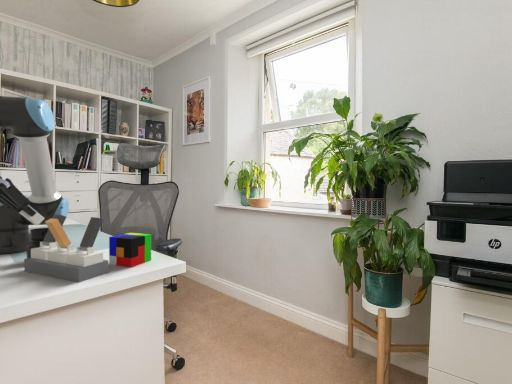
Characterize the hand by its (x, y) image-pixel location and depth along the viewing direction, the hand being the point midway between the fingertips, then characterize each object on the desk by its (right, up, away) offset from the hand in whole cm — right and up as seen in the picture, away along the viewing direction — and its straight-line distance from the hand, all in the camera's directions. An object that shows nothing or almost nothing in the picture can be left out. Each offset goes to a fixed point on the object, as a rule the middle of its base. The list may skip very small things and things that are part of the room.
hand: (39, 221), depth 84 cm
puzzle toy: (+18, -17, +20) cm, 32 cm away
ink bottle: (-14, -17, +20) cm, 30 cm away
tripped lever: (+3, -9, +8) cm, 12 cm away
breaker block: (+3, -17, +8) cm, 19 cm away
